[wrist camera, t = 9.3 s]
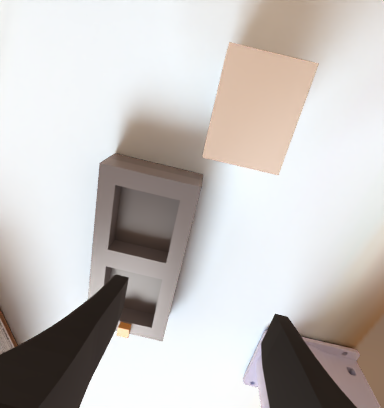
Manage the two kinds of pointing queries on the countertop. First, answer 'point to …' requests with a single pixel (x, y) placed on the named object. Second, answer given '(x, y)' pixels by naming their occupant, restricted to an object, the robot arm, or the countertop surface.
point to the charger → (257, 107)
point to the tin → (5, 336)
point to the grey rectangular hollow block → (142, 237)
